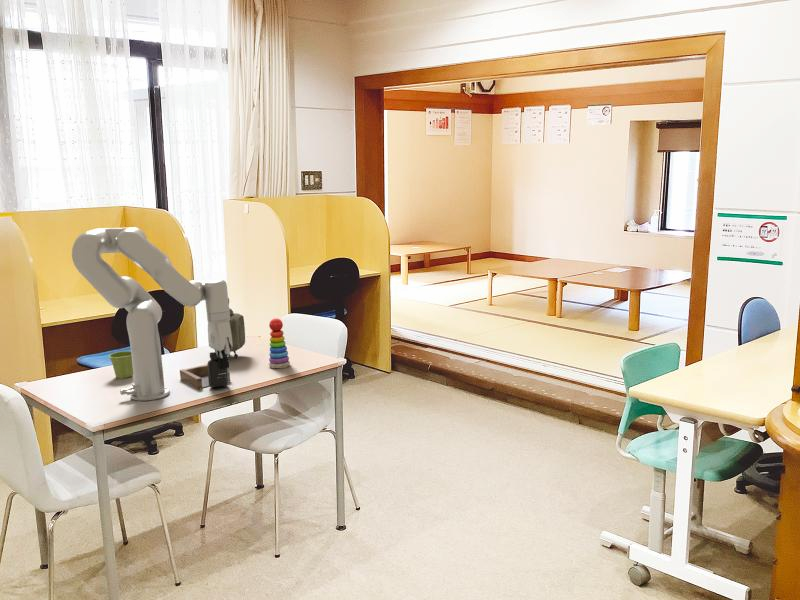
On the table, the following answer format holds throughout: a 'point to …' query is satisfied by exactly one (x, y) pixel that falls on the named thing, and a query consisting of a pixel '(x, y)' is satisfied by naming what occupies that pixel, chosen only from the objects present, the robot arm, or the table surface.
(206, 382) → the u rest
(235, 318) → the tabletop clock
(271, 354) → the stacking toy
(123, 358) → the plant pot
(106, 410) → the table surface
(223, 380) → the supplement bottle
